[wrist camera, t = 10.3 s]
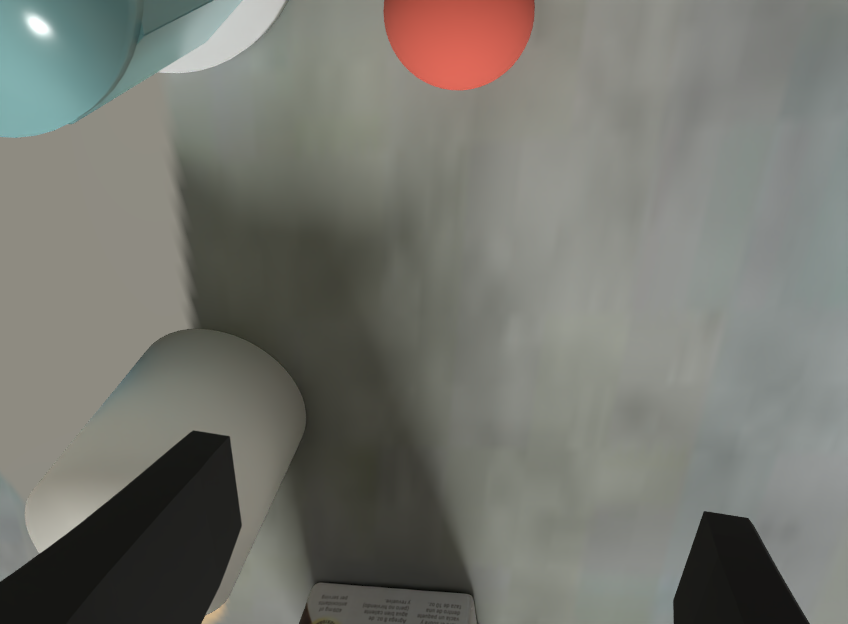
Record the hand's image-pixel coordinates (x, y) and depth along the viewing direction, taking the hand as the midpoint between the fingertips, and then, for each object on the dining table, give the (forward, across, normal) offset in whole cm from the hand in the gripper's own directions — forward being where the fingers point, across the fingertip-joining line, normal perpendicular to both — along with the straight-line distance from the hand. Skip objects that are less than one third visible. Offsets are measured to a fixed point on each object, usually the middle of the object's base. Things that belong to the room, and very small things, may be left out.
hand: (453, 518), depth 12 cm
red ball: (+8, +1, -6) cm, 10 cm away
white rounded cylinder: (+10, +8, +7) cm, 15 cm away
